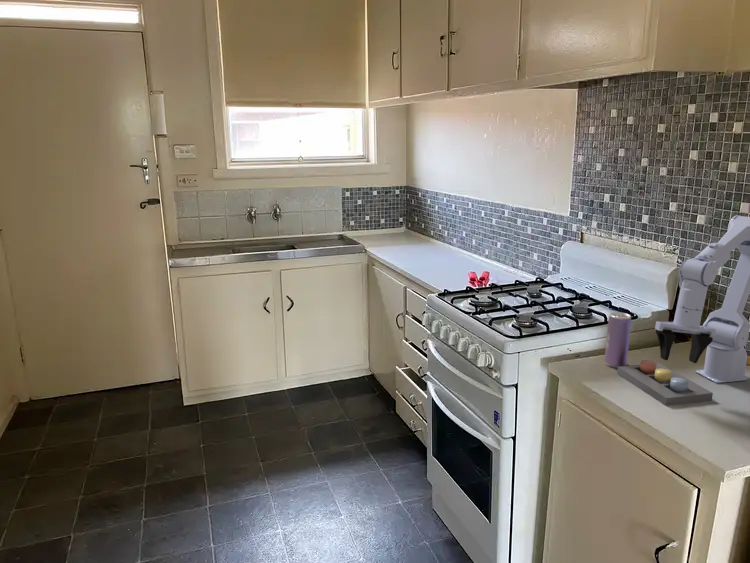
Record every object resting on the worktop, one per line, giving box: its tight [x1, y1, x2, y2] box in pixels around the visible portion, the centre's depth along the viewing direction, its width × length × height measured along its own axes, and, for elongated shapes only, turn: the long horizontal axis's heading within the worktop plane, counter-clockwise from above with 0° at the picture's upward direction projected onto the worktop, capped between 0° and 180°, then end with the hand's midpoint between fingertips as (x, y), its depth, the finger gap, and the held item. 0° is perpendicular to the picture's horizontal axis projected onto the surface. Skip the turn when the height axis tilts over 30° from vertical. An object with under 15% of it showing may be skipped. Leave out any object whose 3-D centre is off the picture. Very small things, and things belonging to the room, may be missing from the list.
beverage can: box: [604, 311, 632, 369], centre depth 163 cm, size 6×6×15 cm
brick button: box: [639, 359, 658, 373], centre depth 155 cm, size 4×4×2 cm
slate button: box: [670, 378, 689, 392], centre depth 144 cm, size 4×4×2 cm
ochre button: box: [654, 368, 672, 382], centre depth 150 cm, size 4×4×2 cm
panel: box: [616, 362, 714, 406], centre depth 150 cm, size 13×20×2 cm, turn 11°
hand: (678, 360), depth 143 cm, fingers open, 7 cm apart
